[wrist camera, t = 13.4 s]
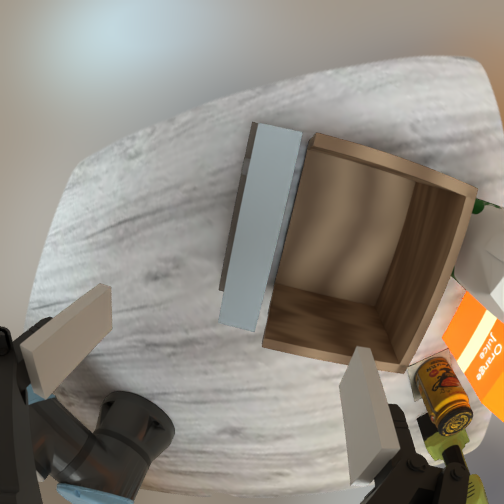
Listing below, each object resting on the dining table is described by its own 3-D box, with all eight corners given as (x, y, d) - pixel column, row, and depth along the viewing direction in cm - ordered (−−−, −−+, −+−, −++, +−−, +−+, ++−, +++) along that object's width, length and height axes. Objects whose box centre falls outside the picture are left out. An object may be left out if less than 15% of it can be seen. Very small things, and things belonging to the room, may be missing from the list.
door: (229, 276, 39) (205, 319, 29) (259, 130, 33) (243, 120, 23) (266, 285, 39) (254, 332, 28) (300, 139, 33) (302, 132, 23)
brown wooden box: (224, 282, 39) (193, 337, 27) (256, 125, 33) (234, 108, 21) (374, 317, 38) (399, 381, 26) (422, 171, 32) (479, 182, 19)
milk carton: (486, 223, 32) (589, 279, 13) (447, 275, 35) (530, 362, 16) (449, 178, 31) (562, 209, 12) (406, 233, 34) (493, 311, 15)
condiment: (449, 347, 38) (480, 398, 27) (452, 383, 40) (477, 433, 28) (406, 366, 40) (428, 423, 28) (414, 400, 42) (432, 454, 30)
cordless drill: (469, 443, 44) (499, 530, 20) (441, 459, 46) (464, 548, 22) (447, 391, 40) (495, 508, 17) (412, 412, 42) (445, 534, 19)
